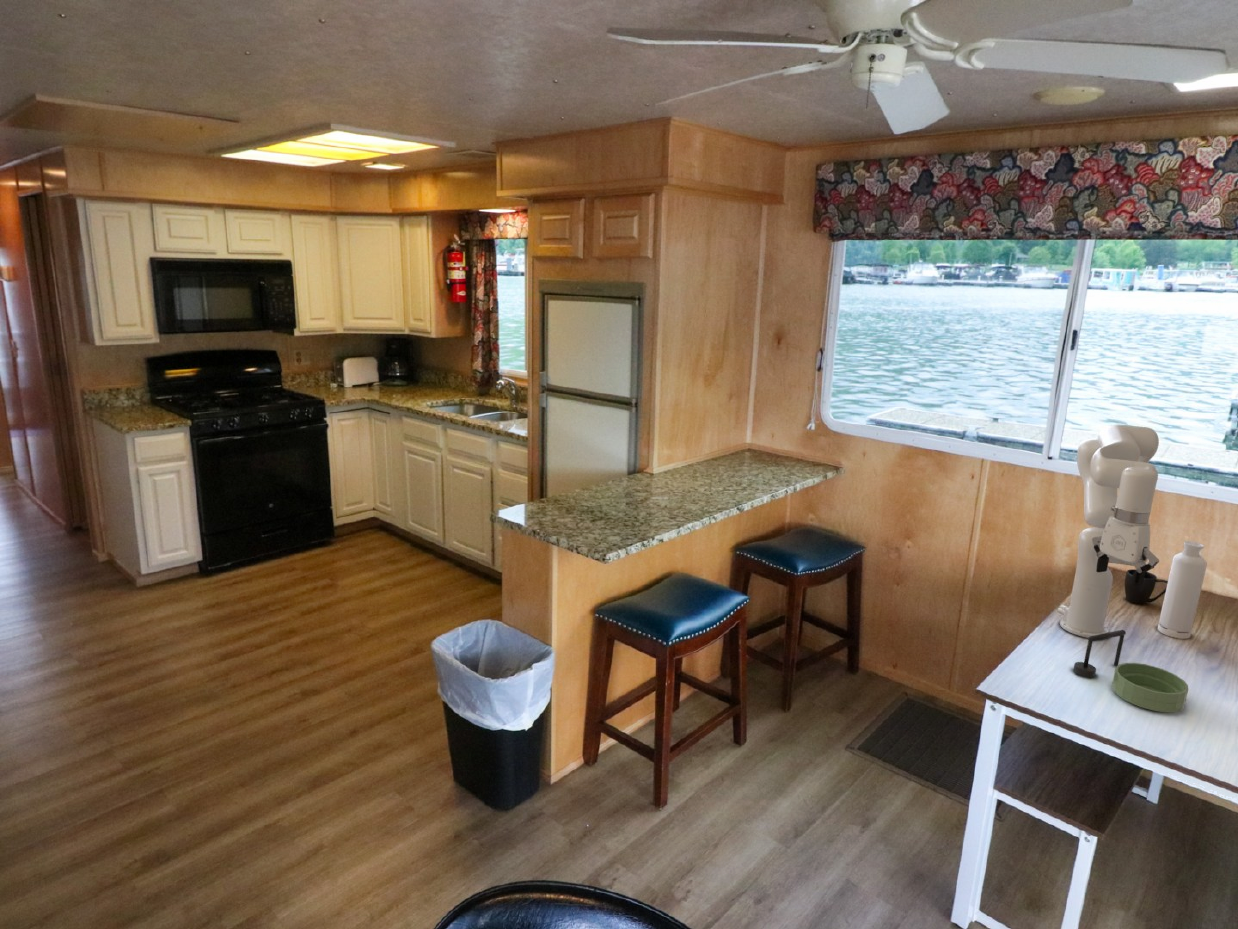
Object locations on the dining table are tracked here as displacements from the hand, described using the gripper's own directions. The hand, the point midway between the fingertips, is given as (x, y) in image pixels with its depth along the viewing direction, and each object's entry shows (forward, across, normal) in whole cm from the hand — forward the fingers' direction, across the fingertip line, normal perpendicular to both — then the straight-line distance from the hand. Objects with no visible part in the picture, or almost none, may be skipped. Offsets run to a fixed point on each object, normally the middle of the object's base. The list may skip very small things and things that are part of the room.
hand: (1118, 578), depth 203 cm
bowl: (+26, +14, -2) cm, 30 cm away
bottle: (+26, -9, +43) cm, 51 cm away
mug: (+26, -27, +55) cm, 67 cm away
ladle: (+26, 0, -1) cm, 26 cm away
